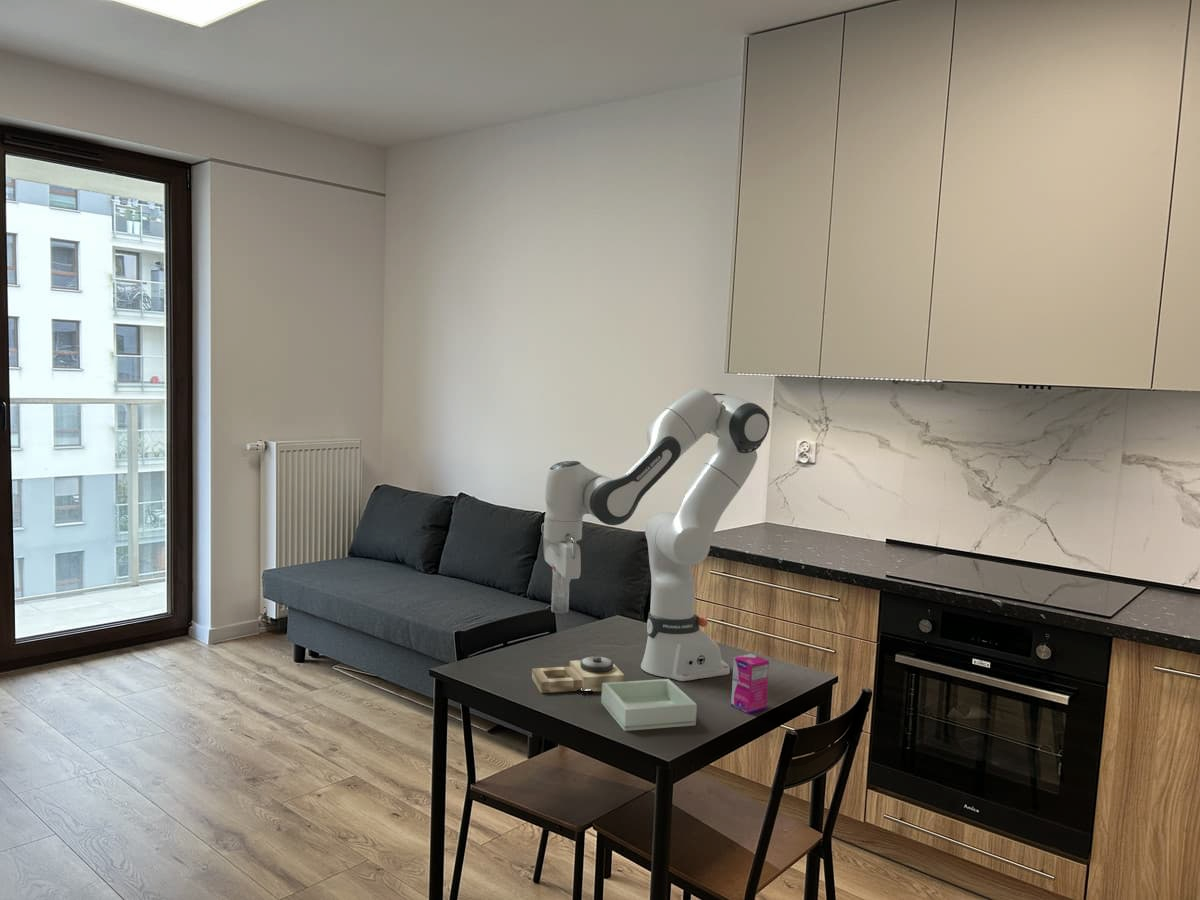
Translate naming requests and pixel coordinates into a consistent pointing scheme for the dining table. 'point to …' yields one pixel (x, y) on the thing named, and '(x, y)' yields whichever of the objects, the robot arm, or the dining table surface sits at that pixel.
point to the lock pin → (558, 594)
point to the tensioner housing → (577, 675)
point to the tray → (648, 704)
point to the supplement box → (749, 683)
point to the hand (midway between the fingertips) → (560, 589)
